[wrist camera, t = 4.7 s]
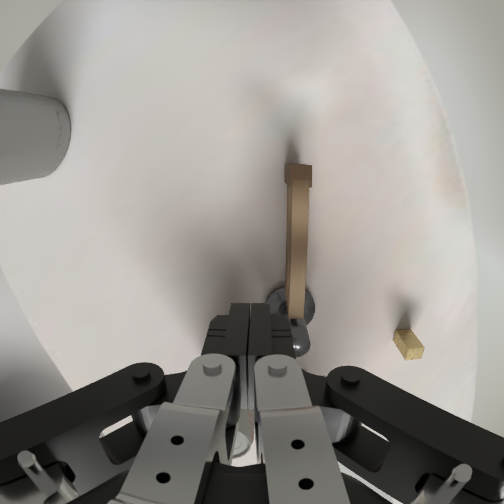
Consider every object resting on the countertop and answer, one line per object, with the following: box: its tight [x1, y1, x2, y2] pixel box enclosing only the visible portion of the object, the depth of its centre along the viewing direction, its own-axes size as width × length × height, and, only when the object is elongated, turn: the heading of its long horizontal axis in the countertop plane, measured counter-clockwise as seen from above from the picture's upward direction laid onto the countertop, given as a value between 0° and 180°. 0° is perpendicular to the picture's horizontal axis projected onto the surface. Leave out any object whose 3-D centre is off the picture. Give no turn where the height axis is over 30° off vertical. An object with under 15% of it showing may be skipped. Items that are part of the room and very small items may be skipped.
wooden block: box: [285, 164, 312, 319], centre depth 26 cm, size 12×2×6 cm, turn 1°
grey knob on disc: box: [266, 286, 315, 357], centre depth 28 cm, size 5×5×7 cm
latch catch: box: [393, 329, 424, 360], centre depth 30 cm, size 2×1×4 cm
